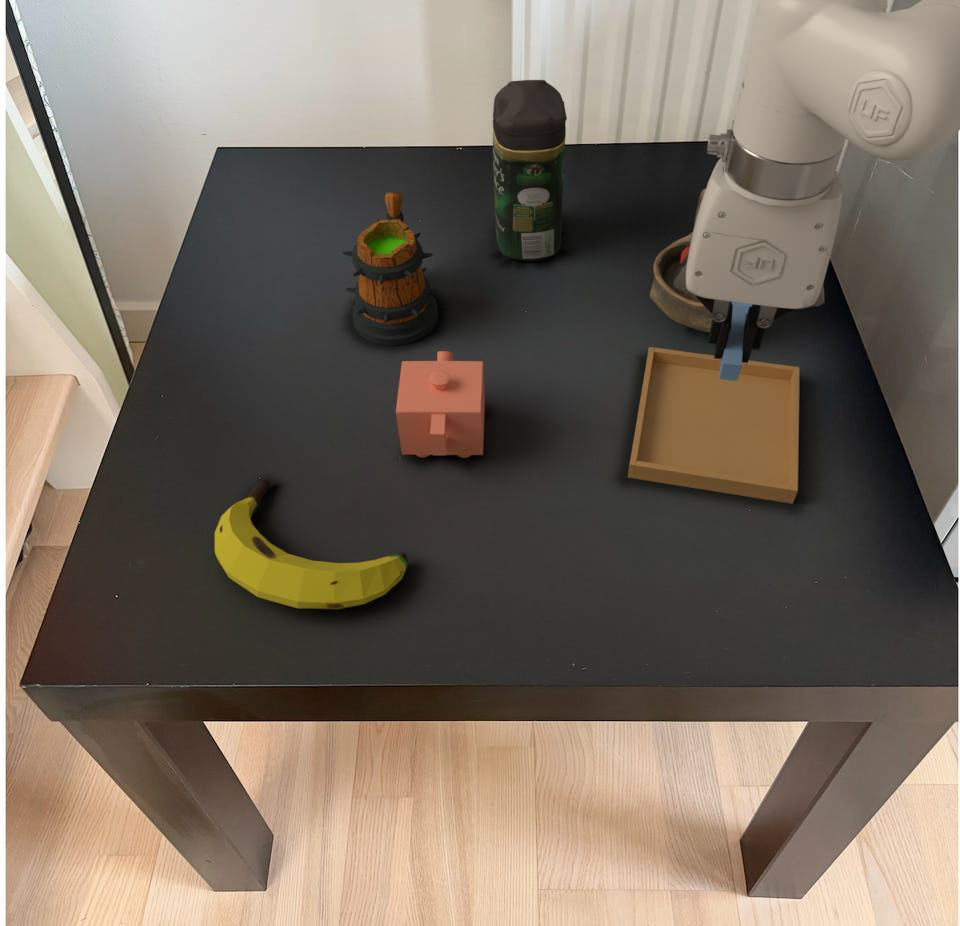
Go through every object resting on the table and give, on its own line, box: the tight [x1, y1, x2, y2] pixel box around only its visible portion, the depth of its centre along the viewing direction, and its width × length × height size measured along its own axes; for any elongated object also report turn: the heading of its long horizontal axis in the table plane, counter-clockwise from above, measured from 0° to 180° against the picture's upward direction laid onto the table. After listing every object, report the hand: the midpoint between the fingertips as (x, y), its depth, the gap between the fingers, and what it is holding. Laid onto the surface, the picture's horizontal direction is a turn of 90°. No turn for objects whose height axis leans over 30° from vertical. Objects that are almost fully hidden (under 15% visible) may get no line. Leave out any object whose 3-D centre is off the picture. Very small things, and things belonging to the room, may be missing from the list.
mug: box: [342, 192, 440, 347], centre depth 98 cm, size 13×10×12 cm
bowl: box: [649, 188, 712, 333], centre depth 98 cm, size 14×18×10 cm
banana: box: [214, 478, 409, 610], centre depth 81 cm, size 5×17×15 cm
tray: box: [627, 346, 801, 505], centre depth 89 cm, size 15×16×2 cm
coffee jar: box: [492, 79, 568, 262], centre depth 102 cm, size 10×8×19 cm
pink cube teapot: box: [395, 350, 486, 459], centre depth 87 cm, size 8×12×8 cm, turn 178°
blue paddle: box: [719, 302, 752, 381], centre depth 79 cm, size 11×4×2 cm, turn 167°
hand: (732, 348), depth 78 cm, fingers closed on blue paddle, 1 cm apart
